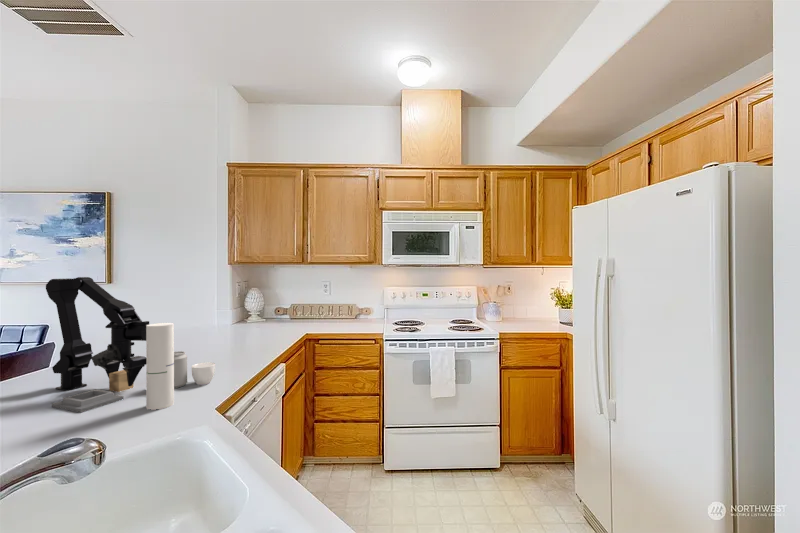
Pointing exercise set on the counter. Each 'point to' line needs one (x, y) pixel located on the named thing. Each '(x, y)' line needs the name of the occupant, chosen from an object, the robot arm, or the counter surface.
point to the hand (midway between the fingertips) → (121, 384)
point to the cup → (203, 373)
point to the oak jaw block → (118, 381)
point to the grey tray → (87, 400)
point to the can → (180, 369)
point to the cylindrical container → (159, 365)
